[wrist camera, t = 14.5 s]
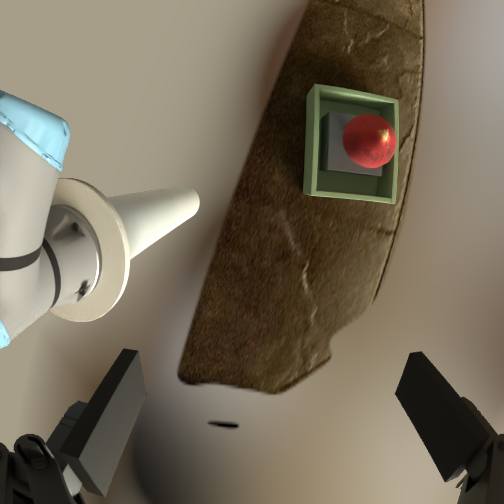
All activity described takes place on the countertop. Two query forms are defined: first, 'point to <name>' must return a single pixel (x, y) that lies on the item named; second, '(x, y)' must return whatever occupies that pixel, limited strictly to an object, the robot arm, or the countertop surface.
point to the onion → (369, 140)
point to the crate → (314, 179)
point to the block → (339, 147)
